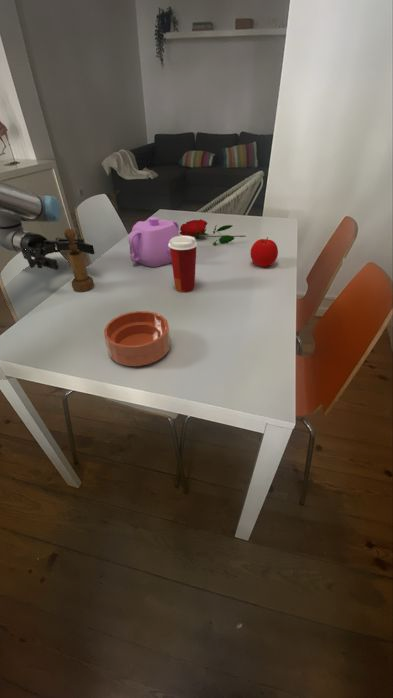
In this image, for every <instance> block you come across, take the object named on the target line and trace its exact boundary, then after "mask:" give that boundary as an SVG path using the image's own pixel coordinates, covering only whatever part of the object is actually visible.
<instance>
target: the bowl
mask: <svg viewBox="0 0 393 698" xmlns="http://www.w3.org/2000/svg"><path fill="white" fill-rule="evenodd" d="M103 337H104V340H105V344H106V348H107V353H108V356H109V357H110V358H111V360H113V361H114V362H116V363H117V364H120V365H123V366H127V367H141V366H146V365H150V364H153V363H155V362H157V361H159V360H161V359H162V358H163V357H165V356H166V354H167V353H168V352H169V350H170V348H171V347H170V346H171V338H170V326H169V322H168V320H167V318H165V317H164V316H163V315H161V314H159V313H156V312H153V311H147V310H145V311H144V310H136V311H129V312H126V313H122V314H120V315H117V316H116V317H114V318H112V319H111V320H110V321H109V322H108V323H106V325H105V327H104V329H103Z"/></svg>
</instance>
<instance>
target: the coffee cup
mask: <svg viewBox="0 0 393 698" xmlns="http://www.w3.org/2000/svg"><path fill="white" fill-rule="evenodd" d="M168 246H169V247H170V252H171V260H172V262H171V267H172V274H173V282H174V288H175V290H176V291H177V292H179V293H190V292H193V291H194V290H195V288H196V287H195V285H196V265H197V246H198V242H197V238H196V239H195V238H194V237H192V236H183V235H180V236H176V237H173V238H172V239H171V240H170V241H169V244H168Z"/></svg>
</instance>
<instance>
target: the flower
mask: <svg viewBox="0 0 393 698" xmlns="http://www.w3.org/2000/svg"><path fill="white" fill-rule="evenodd" d="M207 225H208V222H207V221H206V220H205V219H201V218H200V219H191V220H189V221H186V222H185V223H182V224H181V225H180V226H179V235H180V236H191V237H194V238H195V239H196V240H197V239H198V238H199V237H207V238H208V237H209V238H218V240H217V239H215V241H214V242H213V243H212V246H218V243H217V242H219V243H220V244H228V243H230V242H233V241H234V239H235V238H237V237H239V238H243V237H247V235H229V234H224V235H223V234H221V235H215V234H216V233H218V234H220V232H222V231H226V230H229V229H230V228H233V226H234V225H233V224H232V225H231V224H227V225H222V226H220V227H219V228H217V226H218V224H216V225H215V226H214V228H213V231H212V234H213V235H210V234H209V233H206V231H207V228H206V227H207Z"/></svg>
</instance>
